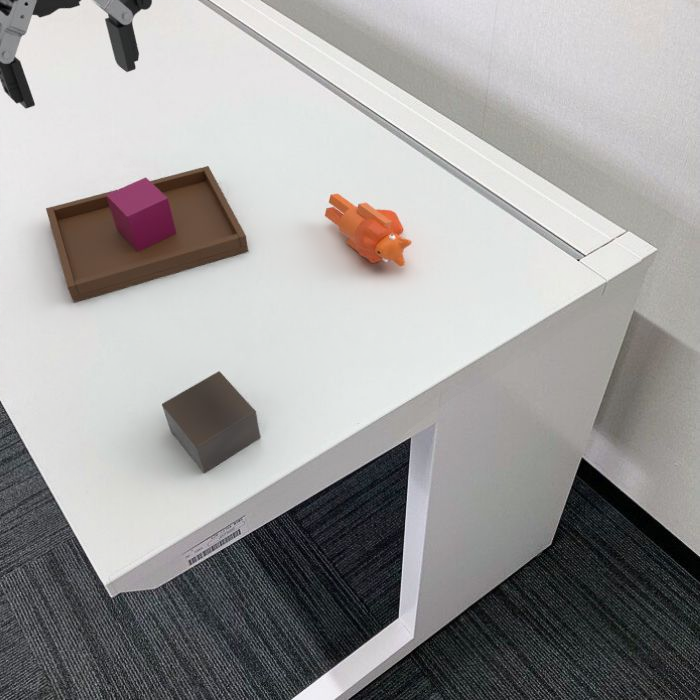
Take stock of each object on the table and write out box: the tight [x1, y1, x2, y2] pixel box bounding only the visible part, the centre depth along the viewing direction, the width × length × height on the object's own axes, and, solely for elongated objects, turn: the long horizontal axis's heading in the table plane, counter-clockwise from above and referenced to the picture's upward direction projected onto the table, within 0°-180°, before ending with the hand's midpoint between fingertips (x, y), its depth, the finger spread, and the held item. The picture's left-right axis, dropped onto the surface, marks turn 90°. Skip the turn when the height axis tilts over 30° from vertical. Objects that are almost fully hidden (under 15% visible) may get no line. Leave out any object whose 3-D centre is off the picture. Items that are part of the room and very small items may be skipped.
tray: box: [45, 165, 249, 304], centre depth 87 cm, size 20×15×2 cm
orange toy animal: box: [324, 193, 412, 267], centre depth 85 cm, size 5×8×12 cm
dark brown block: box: [161, 370, 262, 474], centre depth 68 cm, size 6×6×4 cm
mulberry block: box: [106, 177, 176, 252], centre depth 86 cm, size 5×5×5 cm
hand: (77, 85), depth 60 cm, fingers open, 8 cm apart
